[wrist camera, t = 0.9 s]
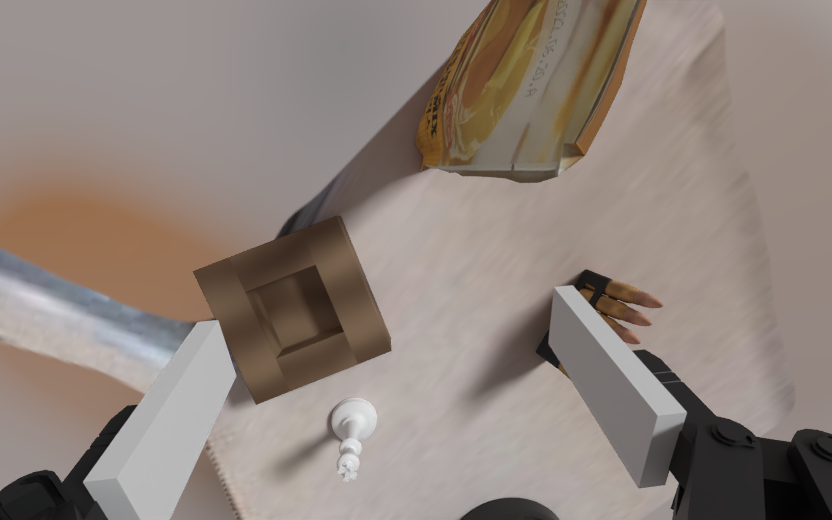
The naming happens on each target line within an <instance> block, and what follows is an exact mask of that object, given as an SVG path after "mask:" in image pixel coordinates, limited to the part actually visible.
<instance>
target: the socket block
mask: <svg viewBox="0 0 832 520" xmlns="http://www.w3.org/2000/svg"><path fill="white" fill-rule="evenodd" d="M193 273H194V275H195V277H196V279H197V281H198V283H199V285H200V288H201V289H202V292H203V294H204V296H205V298H206V300H207V302H208V304H209V306H210V308H211V311H212V313H213V315H214V317H215V319H216V320H218V321H219V324H220V327H221V330H222V333H223V336H224V338H225V340H226V342H227V344H228V347H229V349H230V351H231V353H232V355H233V357H234V359H235V361H236V363H237V365H238V368H239V370H240V372H241V374H242V376H243V378H244V380H245V382H246V384H247V387H248V389H249V391H250V393H251V395H252V397H253V399H254V401H255V403H256V405H257V404H259V403H262V402H264V401H267V400H269V399H272V398H274V397H277V396H279V395H282V394H284V393H287V392H289V391H292V390H294V389H297V388H299V387H302V386H304V385H307V384H309V383H312V382H314V381H317V380H319V379H322V378H324V377H327V376H329V375H332V374H334V373H337V372H339V371H342V370H344V369H347V368H350V367H352V366H355V365H357V364H360V363H362V362H365V361H367V360H370V359H372V358H375V357H377V356H380V355H382V354H385V353H387V352H390V351H391V338H390V335H389V333H388V330H387V328H386V325H385V323H384V321H383V318H382V316H381V313H380V311H379V308H378V306H377V303H376V301H375V298H374V296H373V294H372V291H371V289H370V286H369V284H368V281H367V279H366V276H365V274H364V272H363V269H362V267H361V264H360V262H359V259H358V257H357V254H356V252H355V250H354V247H353V245H352V242H351V240H350V237H349V235H348V232H347V230H346V228H345V225H344V223H343V220H342V218H341V216H335V217H333V218H330V219H327V220H325V221H322V222H320V223H317V224H314V225H312V226H309V227H307V228H304V229H302V230H299V231H296V232H294V233H291V234H289V235H286V236H283V237H281V238H278V239H276V240H273V241H270V242H268V243H265V244H263V245H260V246H257V247H255V248H252V249H250V250H247V251H244V252H242V253H239V254H237V255H234V256H231V257H229V258H226V259H224V260H221V261H219V262H216V263H213V264H211V265H208V266H206V267H203V268H200V269H198V270H195V271H193Z"/></svg>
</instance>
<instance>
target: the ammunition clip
mask: <svg viewBox="0 0 832 520" xmlns="http://www.w3.org/2000/svg"><path fill="white" fill-rule="evenodd" d="M575 289H576V290H577V291H578V292H579V293H580V294H581V295H582V296H583V297H584V298H585V300H586V301H587V302H588V303H589V304H590V305H591V306H592V307H593V308H594V309H595V310H597V311H599V312H601V313H599V312H597V311H596V312H597V313H598V314H599V315H600V316H601V317H602V318H603V320H604V321H605V322H606V323H607V324H608V325H609V326H610V327H611V328H612V330H613V331H614V332H615V333H616V334H617V335H618V336H619V337H620V338H621V339H622V341H623V342H626V343H630V344H640V340H639V338H638V337H637V336H636V335H635V334H634V333H633V332H631V331H630V330H629V329H627V328H625V327H623V326H622V325H620V324H618V323H617V322H616V321H615V320H614V319H612V318H610V317H613V318H615V319H618V320H624V321H626V322H629V323H632V324H635V325H639V326H650V325H652V323H651V321H650V320H649V319H648V318H647V317H646V316H645V315H643V314H642V313H640V312H638V311H636V310H634V309H632V308H630V307H628V306H627V305H626V304H624V303H622V302H620V301H623V302H626V303H633V304H636V305H641V306H644V307H648V308H660V307H663V304H662V302H661V301H659V300H658V299H657V298H656V297H654V296H652V295H650V294H647V293H644V292H643V291H640V290H638V289H636V288H635V287H633V286H630V285H627V284H624V283H621V282H617V281H614V280H611V279H610V278H607V277H605V276H602V275H599V274H597V273H594V272H592V271H589V270H587V269H586V270H584V272H583V273H582V275H581V277H580V278H579V280H578V282H577V283H576V285H575ZM602 294H604V295H607V296H608V297H607V296H604V295H602ZM617 300H620V301H617ZM608 316H610V317H608ZM549 331H550V328H549V330H548V332H547V333H546V335H545V337H544V338H543V340H542V342H541V343H540V345H539V347H538V348H537V350H536V353H538V354H539V355H540V356H541V357H543V358H544V359H545V360H547V361H548V362H549V363H551V364H552V365H553V366H555V367H556V368H558V369H559V370H560V371H561V372H562V373H563V374H565V375H566V376H567V377H568V378H569V379H570V377H569V376H568V374H567V372H566V371H565V369H564V368H563V366H562V364H561V363H560V361H559V360H558V358H557V356H556V355H555V353H554V352H553V350H552V348H551V347H550V345H549V344H548V342H549ZM570 380H571V379H570ZM571 381H572V380H571Z"/></svg>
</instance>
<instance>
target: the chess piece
mask: <svg viewBox="0 0 832 520" xmlns="http://www.w3.org/2000/svg"><path fill="white" fill-rule="evenodd" d="M331 421H332V428H333V431H334V433H335V434H336V435H337V436H338V437H339V438H340V439H342V440H343V441H342V442H341V444H340V446H339V452H340V454H341V456H340V457H339V459H338V461H337V468H338V470H337V473H339V474H341V475H344V476H343V481H346V482H348V480H349V478H351V479H353V480H355V478H356V477H357V472H356V471H357V470H358V468H359V464H360V462H359V458H358V456H359V454H360V453H361V449H362V447H361V444H360V442H361V441H363V440H365V439H367V438H368V437H369V436H370V435H371V434H372V433H373V431H374V429H375V426H376V423H377V414H376V411H375V409H374V407H373V406H372V405H371V404H370V403H369V402H368V401H366V400H364V399H361V398H349V399H346V400H343V401H342V402H340V403H339V404H338V405H337V406H336V407H335V409H334V411H333V413H332V418H331Z"/></svg>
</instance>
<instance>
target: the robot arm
mask: <svg viewBox="0 0 832 520" xmlns="http://www.w3.org/2000/svg"><path fill="white" fill-rule="evenodd" d="M548 344H549V345H550V347H551V348H552V350H553V352H554V353H555V355H556V356H557V358H558V360H559V361H560V363H561V364H562V366H563V368H564V369H565V371H566V372H567V374H568V376H569V377H570V379H571V380H572V382H573V384H574V385H575V387H576V389H577V390H578V392H579V393H580V395H581V397H582V398H583V400H584V401H585V403H586V405H587V406H588V408H589V409H590V411H591V413H592V414H593V416H594V417H595V419H596V421H597V422H598V424H599V426H600V427H601V429H602V430H603V432H604V434H605V435H606V437H607V438H608V440H609V442H610V443H611V445H612V446H613V448H614V450H615V451H616V453H617V454H618V456H619V458H620V459H621V461H622V462H623V464H624V466H625V467H626V469H627V471H628V472H629V474H630V475H631V477H632V479H633V480H634V482H635V483H636V485H637V487H638V488H645V487H653V486H661V485H665V483H666V480H667V477H668V473H669V470H670V471H671V473H672V474H673V475H674V477H675V478H676V480H677V481H678V482H679V485H678V488H677V491H676V494H675V497H674V500H673V503H672V506H671V509H673V510H674V512H673V519H672V520H832V434H829V433H826V432H823V431H819V430H812V429H803V430H800V431H797V432H796V434H795V435H794V437H793V439H792V441H791V442H786V441H780V440H772V439H766V438H760V437H756V436H755V435H754V434H753V433H752V432H751V431H750V430H748V429H747V428H745V427H744V426H743V425H741V424H739V423H737V422H734V421H732V420H730V419H726V418H722V417H717V416H716V415H715V414H714V413H713V412H712V411H711V410H710V409H709V408H708V407H707V406H706V405H705V404H704V403H703V402H702V401H701V400H700V399H699V398H698V397H697V396H696V395H695V394H694V393H693V392H692V391H691V390H690V389H689V388H688V387H687V386H686V385H685V384H684V383H683V382H681V380H680V379H679V378H678V376H677V375H676V374H675V373H672V371H671V369H670V368H669V367H668V366H667V365H666V364H665V363H664V362H663V361H662V360H661V359H660V358H658V357H656V356H655V355H653V354H651V353H650V352H648V351H646V350H636V351H631V349H630V348H629V347H628V346H627V345H626V344H625V343H624V342H623V341H622V339H621V338H620V337H619V336H618V335H617V334H616V333H615V332H614V331H613V330H612V328H611V327H610V326H609V325H608V324H607V323H606V322H605V321H604V320H603V318H602V317H601V316H600V315H599V314H598V313H597V312H596V311H595V310H594V308H593V307H592V306H591V305H590V304H589V303H588V302H587V301H586V300H585V298H584V297H583V296H582V295H581V294H580V293H579V292H578V291H577V290H576V289H575V287H574V286H573V285H570V286H559V287H554V290H553V300H552V311H551V321H550V331H549V342H548ZM235 378H236V373H235V370H234V367H233V364H232V361H231V358H230V355H229V352H228V349H227V345H226V342H225V339H224V336H223V333H222V330H221V327H220V324H219V321H218V320H212V321H202V322H197V324H196V325H195V326H194V328H193V329H192V331H191V332H190V333H189V335H188V336H187V338H186V339H185V340H184V342H183V343H182V345H181V346H180V347H179V349H178V350H177V351H176V353H175V354H174V356H173V357H172V358H171V360H170V361H169V363H168V364H167V365H166V367H165V368H164V370H163V371H162V372H161V374H160V375H159V377H158V378H157V379H156V381H155V382H154V384H153V385H152V386H151V388H150V389H149V390H148V392H147V393H146V395H145V396H144V397H143V399H142V400H141V402H140V403H139V404H138V405H131V406H127V407H125V408H124V409H123V410H122V411H120V412H119V413H118V414H117V415H115V416H114V417H113V418H112V419H111V420H110V421H109V422H108V424H107V425H106V426H105V428H104V429H103V430H102V431H101V433H100V434H99V437H97V438H96V439H95V441H94V442H93V443H92V445H91V446H90V449H88V450H87V451H86V452H85V454H84V455H83V456H82V457H81V459H80V460H79V461H78V463H77V464H76V465H75V467H74V468H73V469H72V471H71V472H70V473H69V475H68V476H67V477H66V478H65V480H64V481H63V482H61V481H60V479H59V478H58V476H57V475H56V474H55V472H53V471H48V470H43V471H38V472H33V473H31V474H28V475H26V476H23V477H21V478H19V479H17V480H16V481H14V482H12V483H11V484H9V485H8V486H6V487H5V488H3V489H2V490H1V491H0V520H170V518H171V516H172V514H173V512H174V509H175V507H176V505H177V503H178V501H179V499H180V496H181V494H182V492H183V490H184V488H185V486H186V484H187V481H188V479H189V477H190V475H191V473H192V471H193V468H194V466H195V464H196V462H197V460H198V457H199V456H200V453H201V451H202V449H203V447H204V445H205V443H206V440H207V438H208V436H209V434H210V432H211V430H212V428H213V425H214V423H215V421H216V419H217V417H218V415H219V413H220V410H221V408H222V406H223V404H224V402H225V400H226V397H227V395H228V393H229V391H230V389H231V387H232V385H233V382H234V380H235ZM462 520H559V518H558V517H557V516H556V515H555V514H554V513H553V512H552V511H551V510H549V509H548V508H547V507H545V506H543V505H542V504H539V503H537V502H535V501H531V500H528V499H522V498H504V499H499V500H495V501H491V502H489V503H486V504H484V505H482V506H480V507H478V508H476V509H475V510H473V511H472V512H470V513H469V514H468V515H467V516H465V517H464V518H463V519H462Z"/></svg>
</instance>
